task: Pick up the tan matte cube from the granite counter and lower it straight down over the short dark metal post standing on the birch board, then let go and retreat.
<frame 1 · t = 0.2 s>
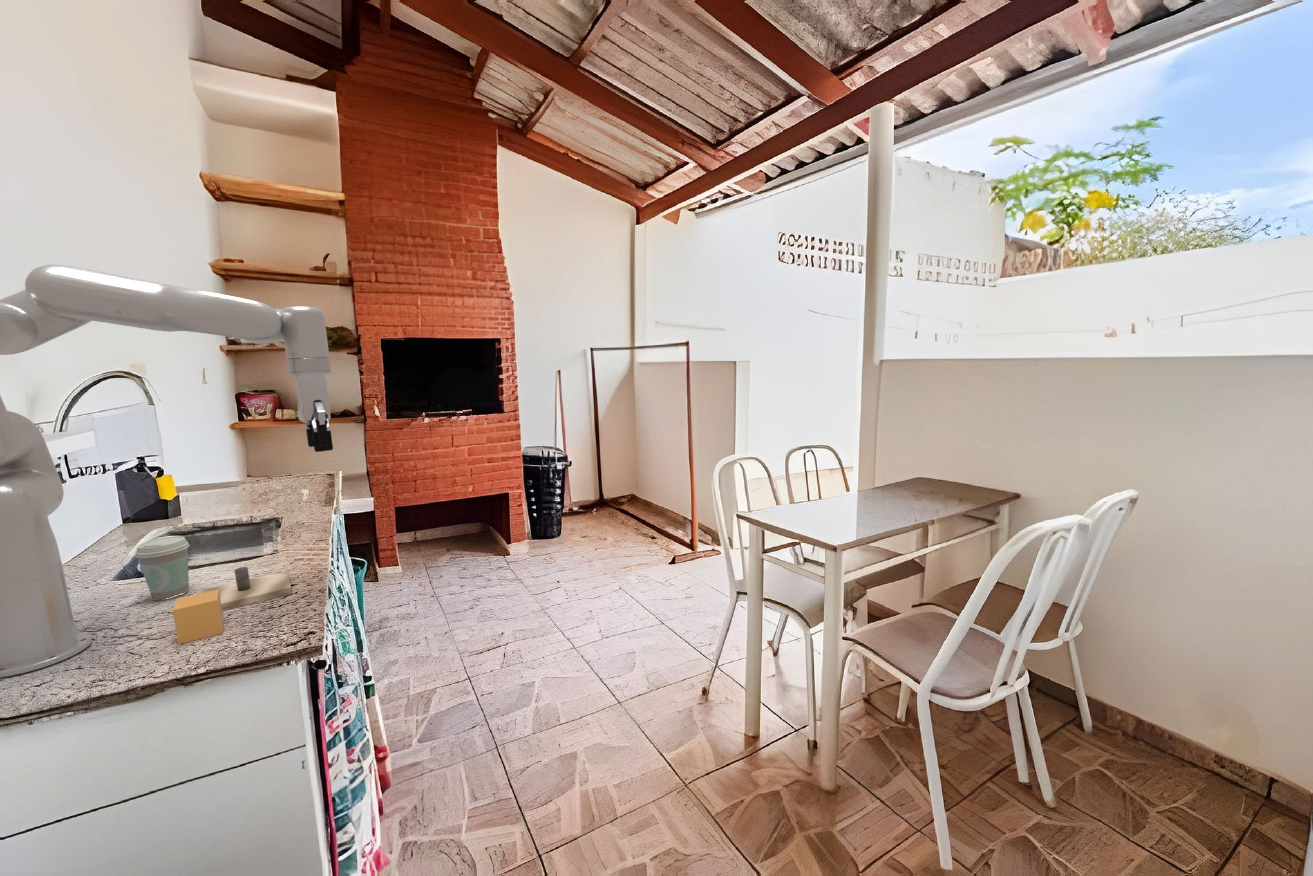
hand: (320, 448, 111), 31 cm above the countertop, tool pointing down, fingers open, 9 cm apart
tan matte cube: (202, 632, 96), on the countertop
coffee cup: (171, 595, 114), on the countertop
post board: (245, 595, 112), on the countertop
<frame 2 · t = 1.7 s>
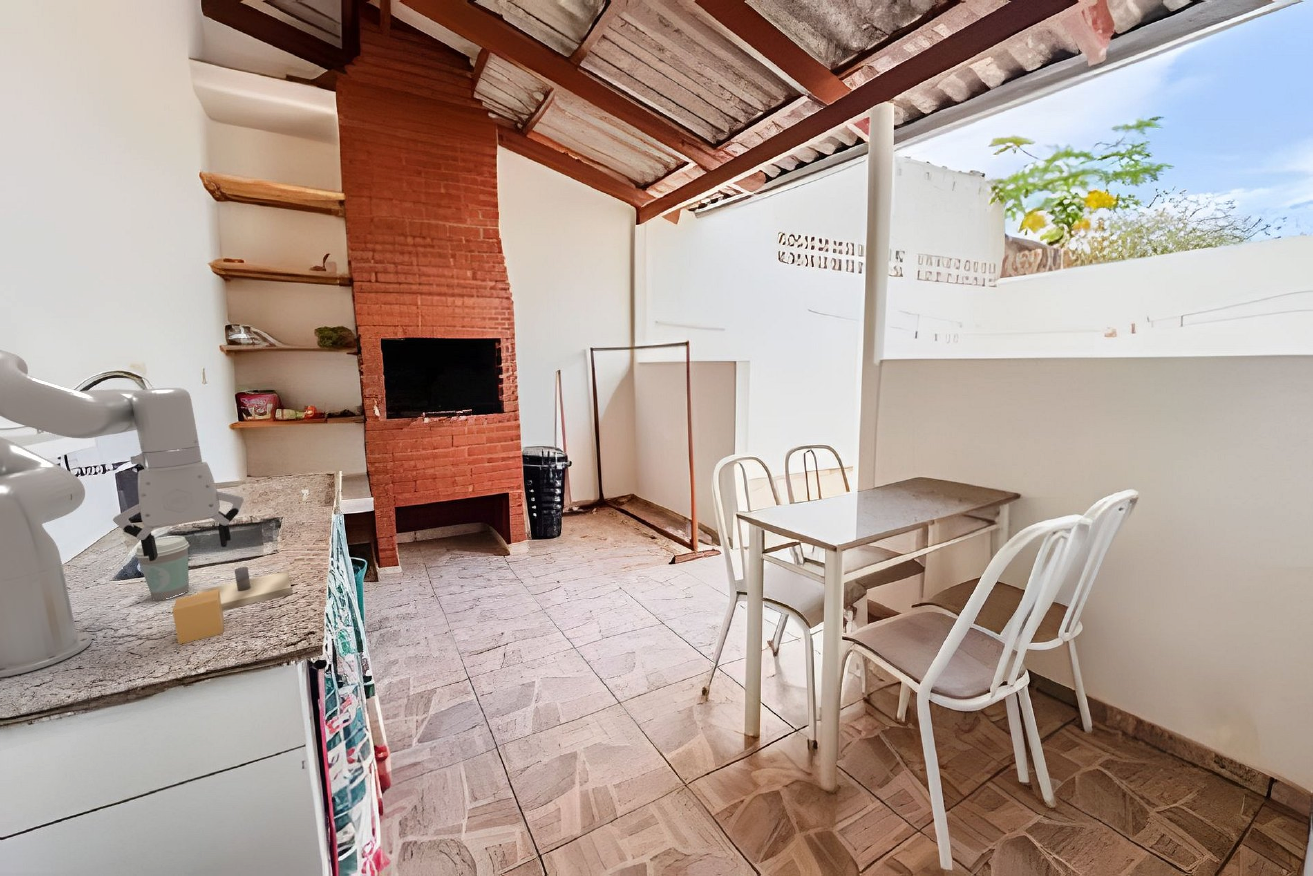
hand: (190, 551, 94), 16 cm above the countertop, tool pointing down, fingers open, 9 cm apart
nothing on the countertop moved.
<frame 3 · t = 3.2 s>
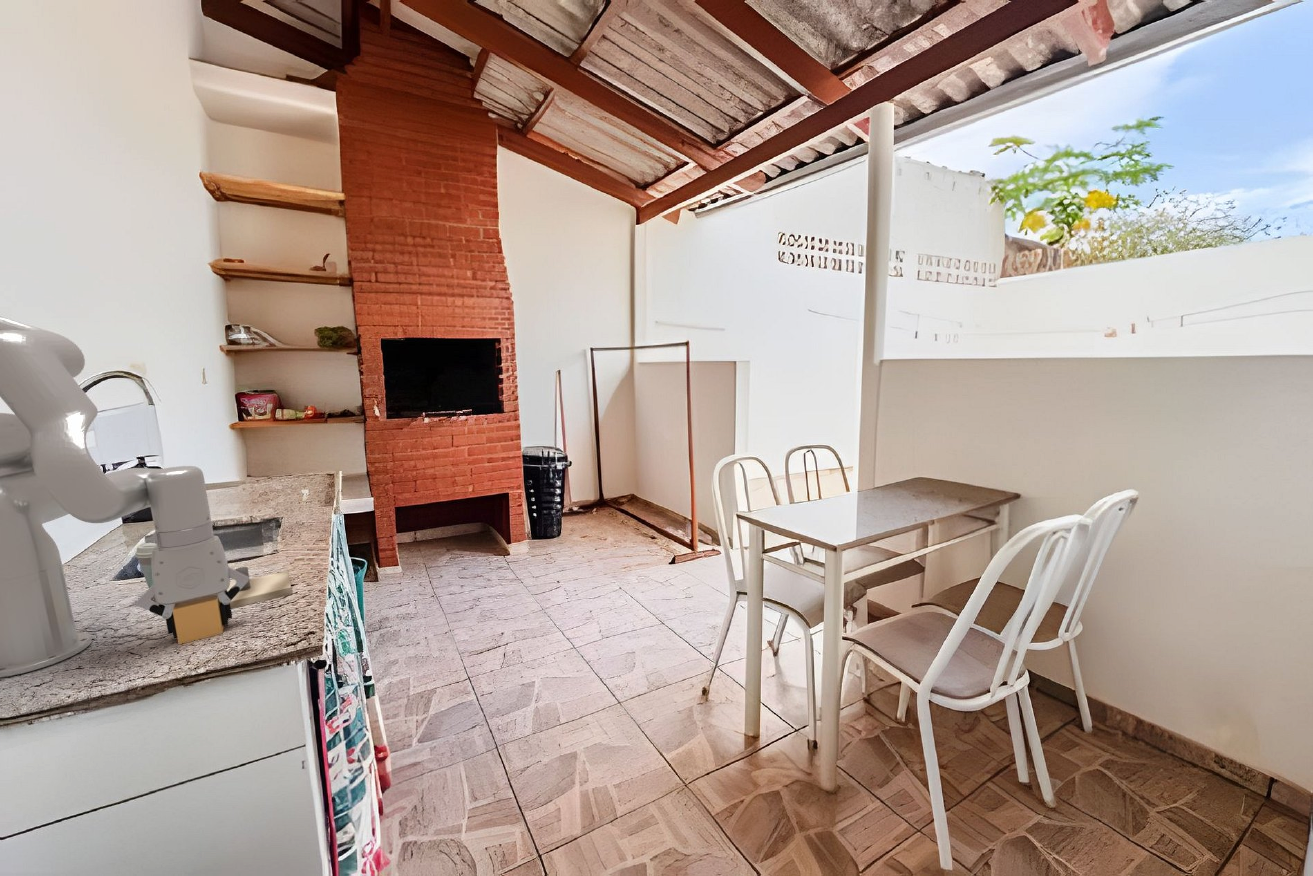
hand: (201, 628, 96), 1 cm above the countertop, tool pointing down, fingers closed on tan matte cube, 6 cm apart
tan matte cube: (202, 632, 96), on the countertop, touching gripper
everything else where it was.
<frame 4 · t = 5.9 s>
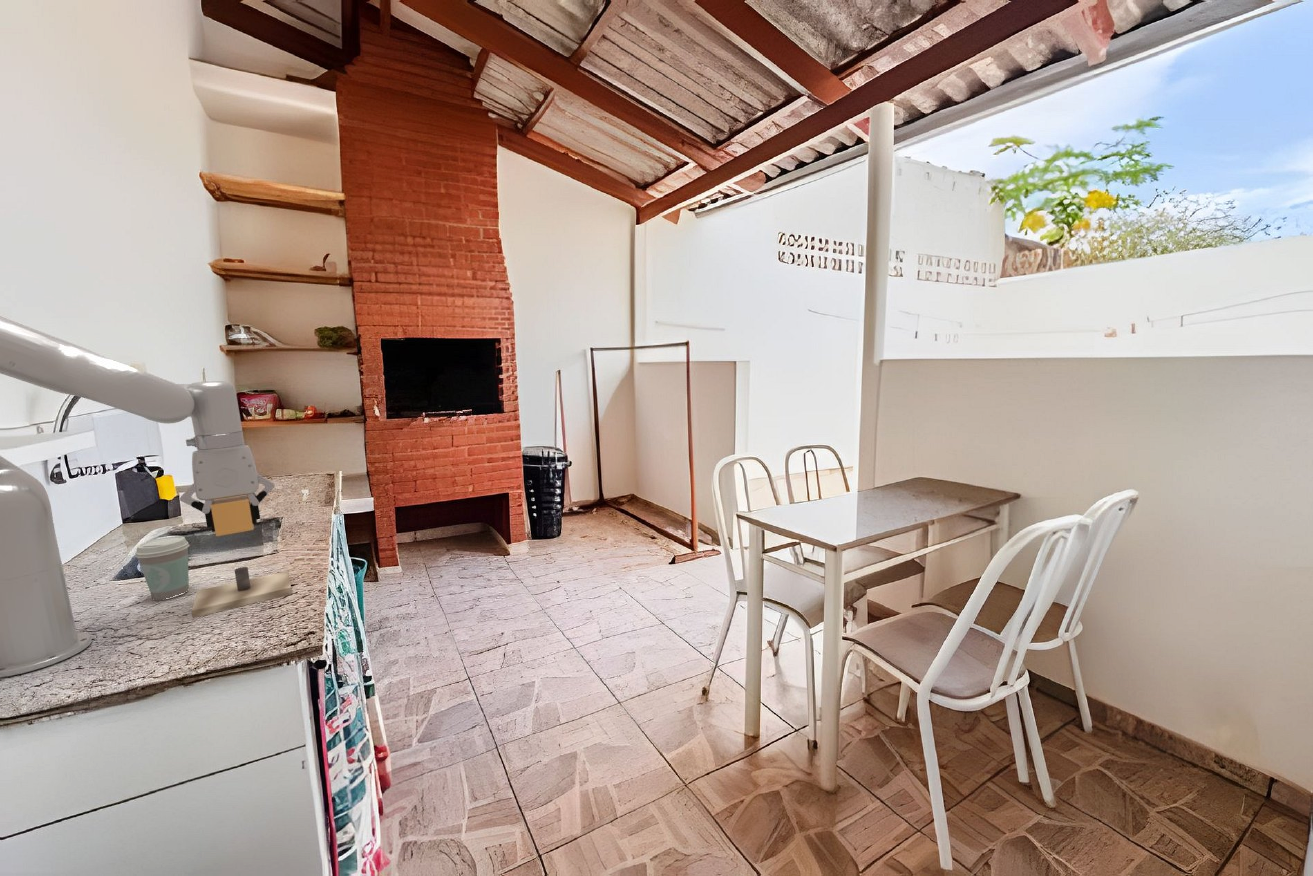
hand: (235, 525, 109), 16 cm above the countertop, tool pointing down, fingers closed on tan matte cube, 5 cm apart
tan matte cube: (235, 529, 110), point 15 cm above the countertop, touching gripper
everything else where it was.
when the fingers open (4 cm above the countertop, at t = 8.1 s): tan matte cube drops 1 cm, resting on post board.
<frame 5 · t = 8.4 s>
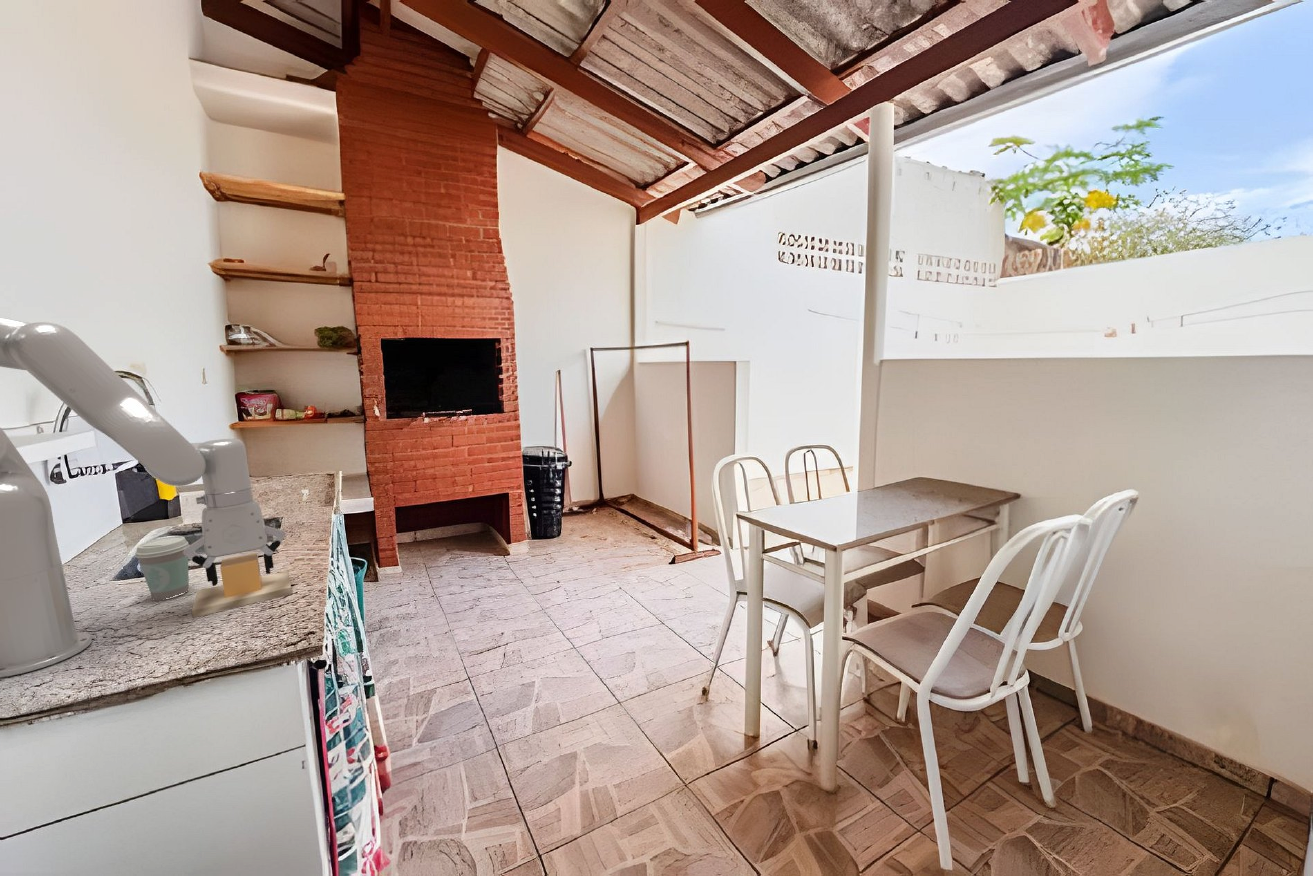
hand: (242, 577, 111), 4 cm above the countertop, tool pointing down, fingers open, 8 cm apart
tan matte cube: (244, 589, 112), point 1 cm above the countertop, touching post board
everything else where it was.
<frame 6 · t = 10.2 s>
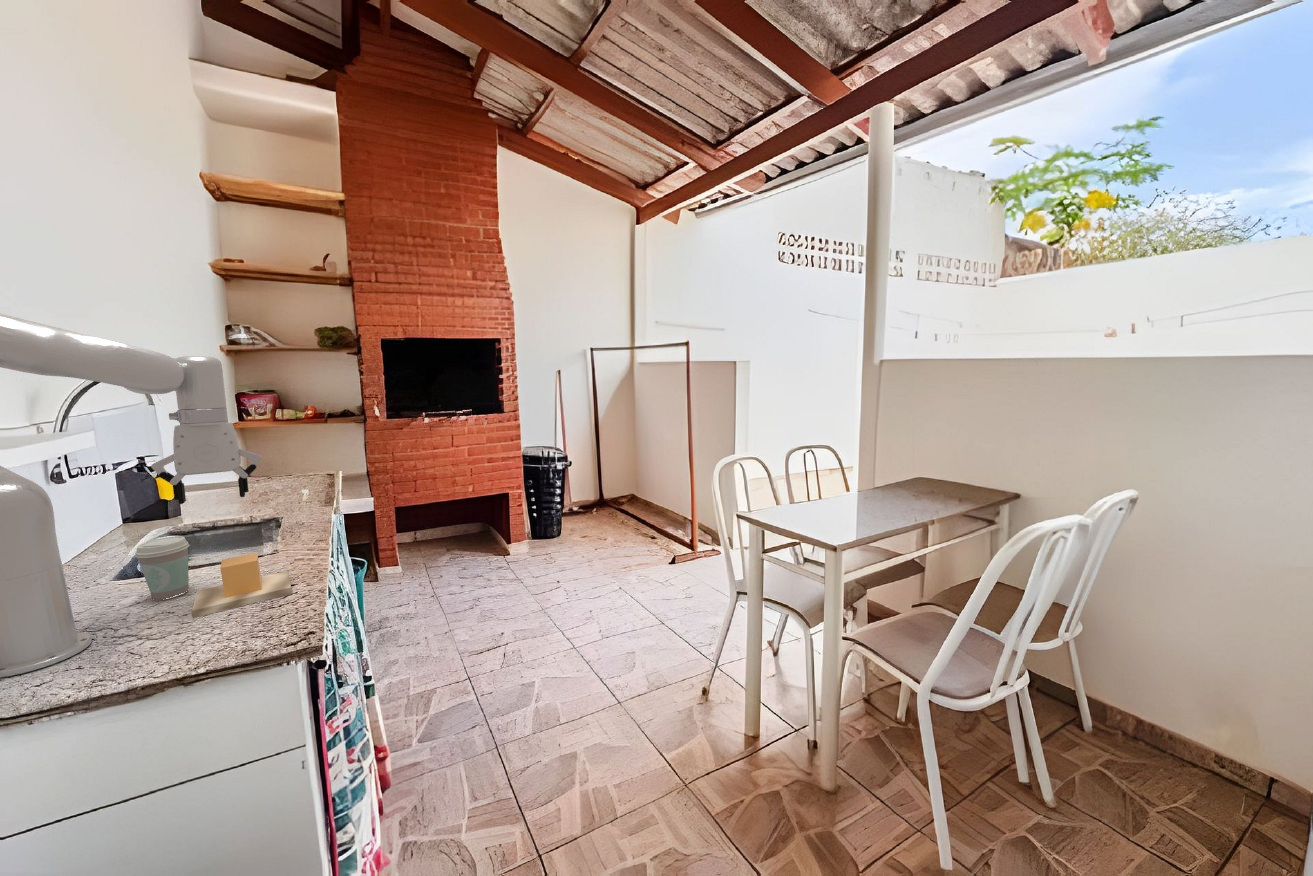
hand: (213, 499, 109), 21 cm above the countertop, tool pointing down, fingers open, 9 cm apart
nothing on the countertop moved.
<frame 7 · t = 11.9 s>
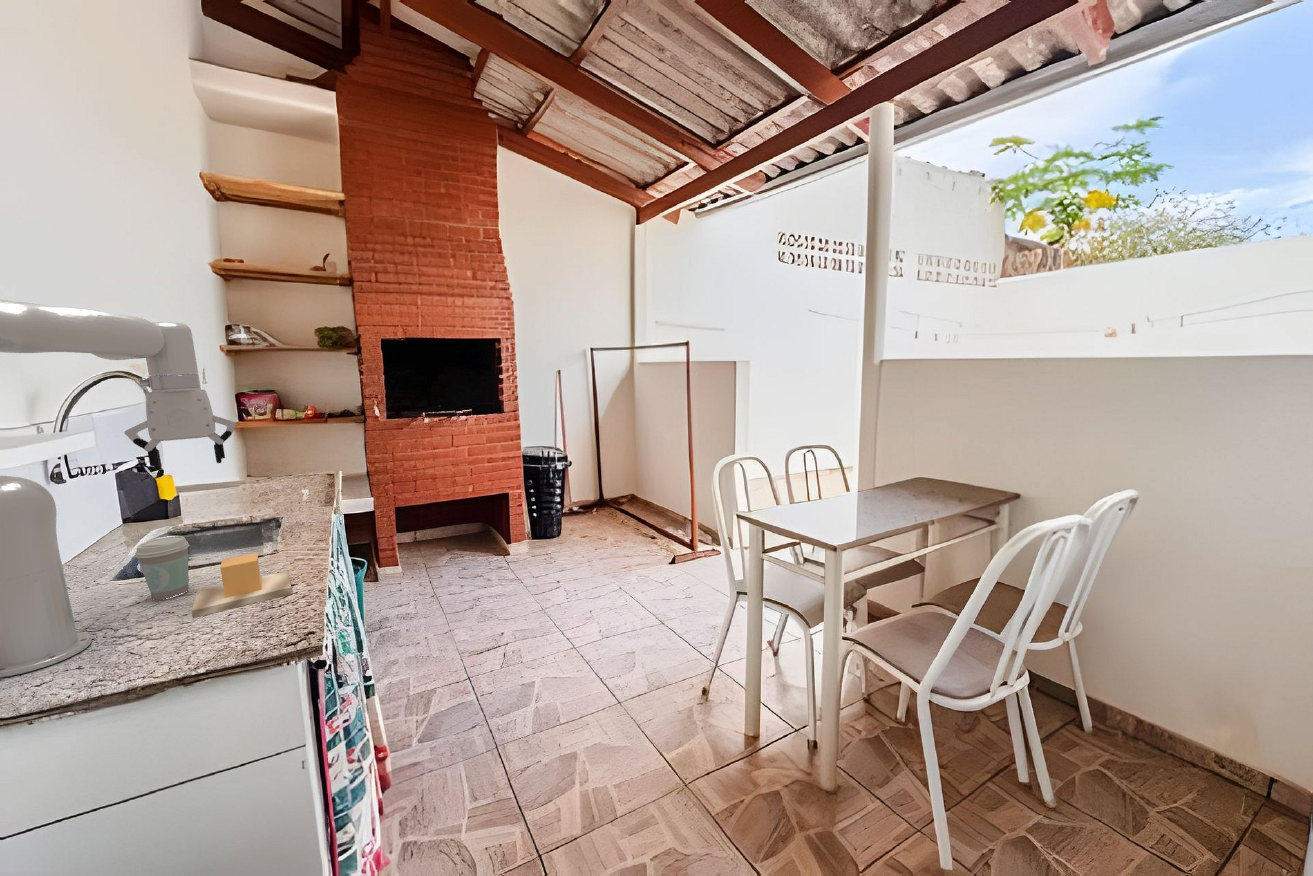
hand: (189, 465, 110), 28 cm above the countertop, tool pointing down, fingers open, 9 cm apart
nothing on the countertop moved.
at the end: tan matte cube 0.0 cm off-centre on the post board, point 1.5 cm above the post board's base; tan matte cube tilted 0°; the gripper is holding nothing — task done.
